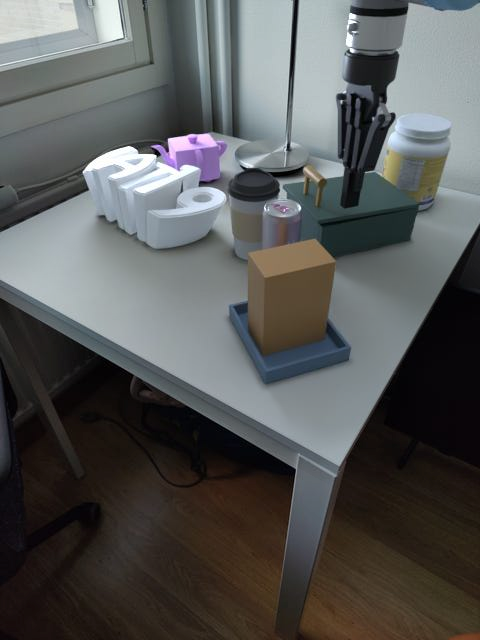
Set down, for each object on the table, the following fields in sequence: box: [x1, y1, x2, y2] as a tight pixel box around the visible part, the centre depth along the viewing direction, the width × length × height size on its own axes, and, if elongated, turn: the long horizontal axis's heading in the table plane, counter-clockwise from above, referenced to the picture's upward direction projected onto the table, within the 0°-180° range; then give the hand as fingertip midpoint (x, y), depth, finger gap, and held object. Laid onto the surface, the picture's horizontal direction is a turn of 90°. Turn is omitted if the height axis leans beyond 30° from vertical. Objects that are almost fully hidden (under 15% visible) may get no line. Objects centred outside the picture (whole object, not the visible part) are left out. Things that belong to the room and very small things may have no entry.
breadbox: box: [285, 192, 419, 258], centre depth 91 cm, size 20×15×7 cm
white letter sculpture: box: [82, 146, 227, 250], centre depth 95 cm, size 35×16×11 cm, turn 42°
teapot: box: [150, 133, 228, 183], centre depth 109 cm, size 18×14×10 cm
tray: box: [228, 300, 352, 385], centre depth 69 cm, size 15×13×2 cm
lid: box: [282, 164, 420, 224], centre depth 86 cm, size 21×15×6 cm
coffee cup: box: [227, 167, 281, 261], centre depth 83 cm, size 9×9×15 cm
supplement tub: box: [380, 113, 452, 212], centre depth 97 cm, size 12×12×17 cm
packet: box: [247, 239, 337, 356], centre depth 65 cm, size 6×10×14 cm, turn 110°
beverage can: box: [262, 198, 302, 250], centre depth 74 cm, size 6×6×15 cm
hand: (349, 205), depth 79 cm, fingers closed
